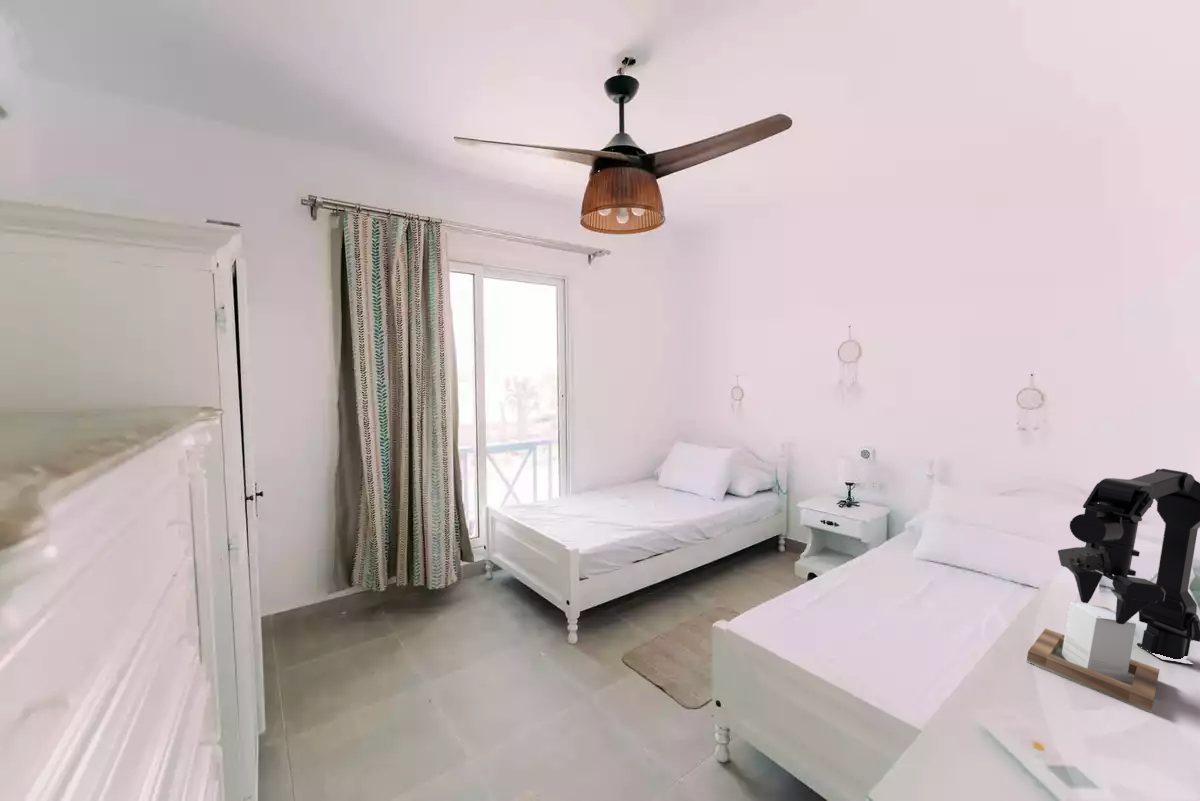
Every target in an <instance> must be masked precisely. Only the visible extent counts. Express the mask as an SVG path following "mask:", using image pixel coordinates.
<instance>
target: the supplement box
mask: <svg viewBox="0 0 1200 801" xmlns="http://www.w3.org/2000/svg"><path fill="white" fill-rule="evenodd" d="M1068 606H1069V607H1068V614H1067V619H1066V626H1065V631H1064V635H1065V637H1064V643H1063V649H1062V655H1061V656H1062V657H1063V658H1064V659H1066V660H1067V661H1069V662H1072V663H1074V664H1077V665H1080V666H1082V667H1085V668H1087V669H1090V670H1092V671H1095V672H1098V673H1100V674H1103V675H1105V676H1108V677H1110V678H1113V679H1116V680H1118V681H1121V682H1126V680H1127V674H1128V669H1129V663H1130V659H1131V657H1132V650H1133V645H1134V644H1133V643H1134V638H1135V633H1136V626H1137V623H1135V622H1134V621H1132V620H1131V619H1129V620H1128V621H1127V622H1126V623H1125V624H1118V623H1116V611H1115V610H1112V609H1110V607H1106V606H1100V605H1093V604H1092V605H1091V604H1088V603H1081V602H1080V603H1078V602H1071V601H1070V602H1069V605H1068Z"/></svg>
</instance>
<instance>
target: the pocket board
mask: <svg viewBox="0 0 1200 801" xmlns="http://www.w3.org/2000/svg"><path fill="white" fill-rule="evenodd" d="M1064 637H1065V634H1062V633H1059V632H1056V631H1054V630H1051V629H1049V628H1044V630H1043V631H1042V632H1041V633H1040V635H1039V636H1038V638H1037V639H1036V640H1035V642H1034V643H1033V644H1032V645H1031V646H1030V648H1029V649H1028V652H1027V655H1026V656H1027V657H1026V662H1027V661H1028V662H1030V663H1032V664H1031V665H1033V664H1034V665H1033V666H1035V665H1036V667H1038V668H1040V669H1042V668H1043V670H1046V671H1047V672H1050V673H1053V674H1055V675H1056V676H1060V677H1062V678H1065V679H1067V680H1069V681H1072V682H1074V683H1076V684H1079V685H1082V686H1085V687H1086V688H1090V689H1092V690H1093V691H1097V692H1099V693H1101V694H1104V695H1105V696H1109V697H1111V698H1112V699H1113V698H1114V699H1116V700H1119V701H1120V702H1123V703H1126V704H1128V705H1130V706H1133V707H1135V708H1138V709H1140V710H1142V711H1145V712H1148V713H1150V714H1152V712H1153V707H1154V701H1155V697H1156V696H1155V695H1156V691H1157V684H1158V680H1159V674H1160V668H1157V667H1154V666H1151V665H1148V664H1145V663H1143V662H1140V661H1137V660H1135V659H1132V658H1130V663H1129V669H1128V674H1127V680H1126V682H1121V681H1118V680H1116V679H1113V678H1110V677H1108V676H1105V675H1103V674H1100V673H1098V672H1095V671H1092V670H1090V669H1087V668H1085V667H1082V666H1080V665H1077V664H1074V663H1072V662H1069V661H1067V660H1066V659H1064V658H1063V657H1062V656H1061V655H1062V649H1063V643H1064ZM1028 662H1027V663H1028ZM1030 663H1029V664H1030Z"/></svg>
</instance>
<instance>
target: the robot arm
mask: <svg viewBox="0 0 1200 801" xmlns="http://www.w3.org/2000/svg"><path fill="white" fill-rule="evenodd" d="M1154 500H1155V502H1156V512H1157V513H1158V514H1159V517H1161V519H1162V520H1163V523H1164V525H1165V526H1164V530H1163V531H1164V533H1163V537H1162V538H1163V539H1162V544H1161V550H1160V557H1159V565H1158V569H1157V570H1158V571H1157V577H1156V582H1153V581H1150V580H1148V579H1146V578H1140V577H1136V573H1137V571H1136V570H1135V569H1132V568H1131V565H1132V561H1133V560H1132V559H1133V557H1138V558H1139V556H1140V551H1138V550H1136V549H1135V548H1134V547H1135V545H1136V544H1135V543H1136V537H1137V533H1138V526H1139V522H1142V521H1143V518H1142V517H1143V516H1144V515H1145V513H1146V512H1147V511H1148V510H1149V509H1150V508H1152V505H1153V504H1154ZM1082 508H1083V509H1084V513H1081V514H1078V515H1076V516H1073V518H1072V519H1071V520H1070V521H1069V529H1070V532H1071V533H1072V535H1073V536H1074V537H1075V538H1076V539H1078V540H1079V541H1081V542H1083V543H1085V546H1080V547H1079V546H1078V547H1070V548H1063V549H1058V550H1057V553H1058V554H1057V555H1058V558H1059V559H1058V560H1059V562H1060V566H1062V567H1063V568H1064V567H1065V568H1066V569H1068V570H1069V571H1070V572H1071V573H1072V574H1073V577H1074V579H1075V581H1076V582H1075V583H1076V588H1077V590H1078V593H1079V594H1078V595H1079V599H1080V601H1081V602H1080V603H1082V604H1089V602H1090V601H1091V600H1092V598H1093V596H1094V594H1095V592H1096V590H1097V588H1098V585H1099V584H1100V582H1101V580H1102V578H1103V577H1105V578H1106V579H1109V580H1110V581H1112V583H1111V584H1112V587H1113V588H1114V589H1112V588H1111V589H1110V591H1111V592H1112V593H1113V594H1114V596H1115V597H1116V608H1115V612H1116V623H1118V624H1125V623H1126V622H1127V621H1128V620H1131V619H1132V618H1133V617H1134V616H1135V615H1136V614H1137V613H1138V622H1141V623H1143V624H1146V629H1144V630H1143V635H1142V640H1141V643H1140V642H1137V643H1136V646H1137V647H1139V646H1140V647H1139V648H1141V647H1142V648H1143V650H1144V649H1145V650H1144V651H1146V650H1148V651H1149V652H1151V653H1155V654H1160V655H1163V656H1166V657H1170V658H1173V659H1181V658H1183V657H1184V656H1188V657H1189V652H1190V647H1191V642H1192V641H1195V642H1200V618H1199V615H1198V614H1197V610H1198V608H1197V607H1198V605H1197V602H1196V601H1195V599H1193V596H1192V595H1191V594H1190V592H1189V585H1190V578H1191V572H1192V568H1193V567H1192V565H1193V562H1194V560H1193V559H1194V555H1195V549H1196V548H1195V547H1196V542H1197V537H1198V530H1199V528H1200V482H1199V481H1197V480H1196V479H1195V477H1194V476H1193V475H1192V473H1191V474H1190V473H1188V472H1185V471H1181V470H1176V469H1175V470H1173V469H1168V468H1157V469H1155V471H1153V472H1151V473H1147V474H1144V475H1140V476H1138V477H1137V476H1136V477H1134V478H1131V479H1124V478H1117V477H1110V478H1107V477H1105V478H1103V479H1102V480H1100V482H1098V483H1096V485H1095V486H1094V488H1093V489H1092V491H1091V492H1090V494H1089V495H1088V497H1087V498H1086V500H1085V501H1084V503H1083V505H1082ZM1142 648H1141V649H1142ZM1149 652H1148V653H1149Z"/></svg>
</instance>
